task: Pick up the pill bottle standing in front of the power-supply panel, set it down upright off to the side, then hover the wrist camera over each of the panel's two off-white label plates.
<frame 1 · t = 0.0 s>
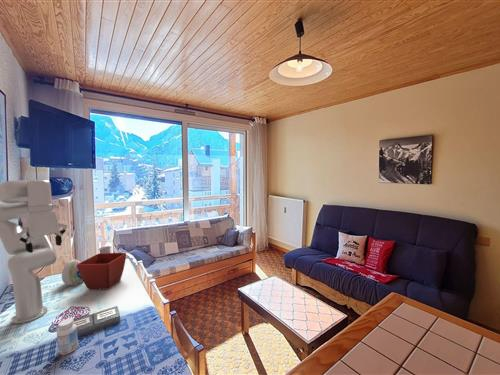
hand: (45, 248, 99), 37 cm above the table, tool pointing down, fingers open, 9 cm apart
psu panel: (93, 325, 104), on the table
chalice: (106, 273, 160), on the table
decorative egg: (74, 283, 147), on the table
pill bottle: (68, 349, 90), on the table
plant pot: (105, 284, 143), on the table
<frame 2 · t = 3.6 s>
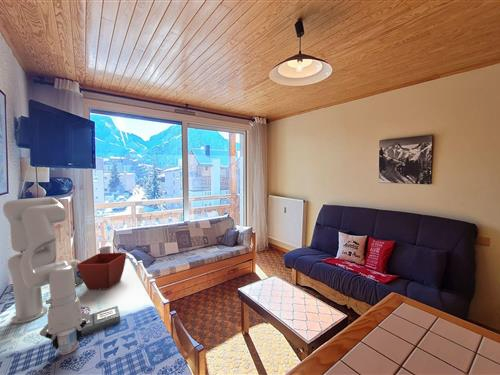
hand: (68, 342, 90), 3 cm above the table, tool pointing down, fingers closed on pill bottle, 6 cm apart
pill bottle: (68, 349, 90), on the table, touching gripper
everything else where it was.
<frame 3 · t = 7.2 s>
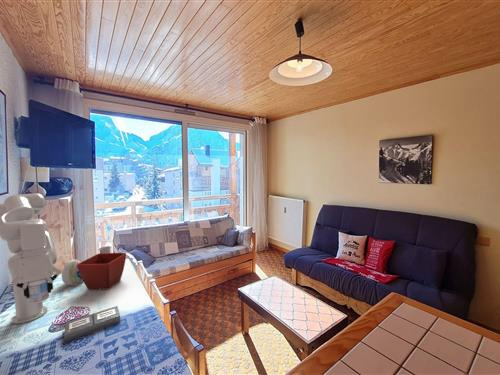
hand: (39, 293, 96), 19 cm above the table, tool pointing down, fingers closed on pill bottle, 6 cm apart
pill bottle: (39, 300, 96), point 16 cm above the table, touching gripper
everything else where it was.
when the fingers open (4 cm above the table, at t = 10.8 s): pill bottle drops 1 cm, on the table.
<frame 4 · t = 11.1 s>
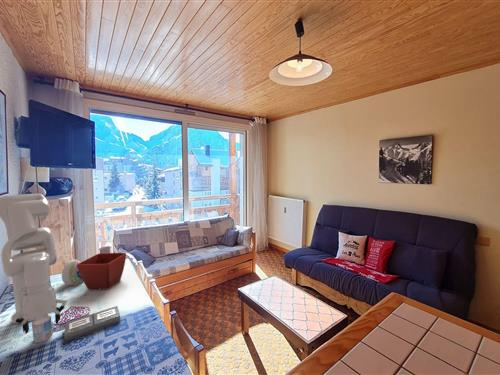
hand: (42, 326, 97), 5 cm above the table, tool pointing down, fingers open, 9 cm apart
pill bottle: (43, 338, 97), on the table
everything else where it was.
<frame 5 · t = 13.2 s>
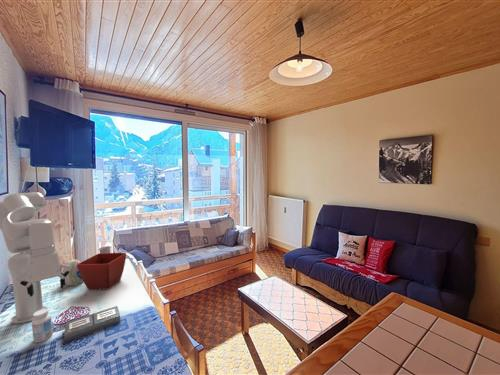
hand: (47, 291, 96), 20 cm above the table, tool pointing down, fingers open, 9 cm apart
nothing on the table moved.
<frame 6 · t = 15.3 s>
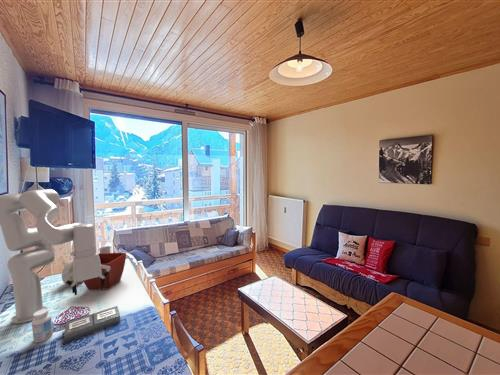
hand: (89, 290, 103), 17 cm above the table, tool pointing down, fingers open, 9 cm apart
nothing on the table moved.
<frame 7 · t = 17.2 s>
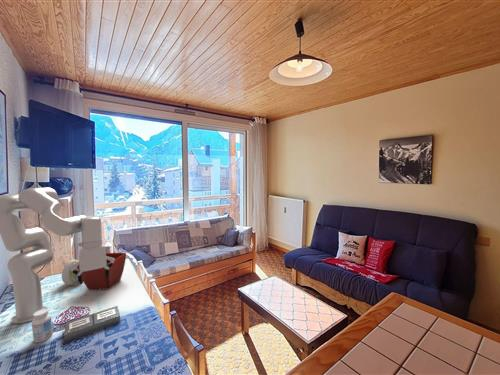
hand: (94, 280, 107), 19 cm above the table, tool pointing down, fingers open, 9 cm apart
nothing on the table moved.
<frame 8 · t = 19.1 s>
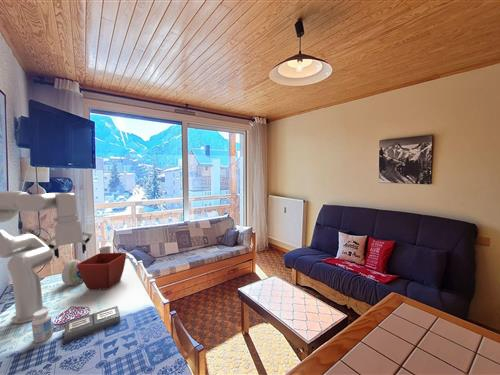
hand: (71, 254, 109), 30 cm above the table, tool pointing down, fingers open, 9 cm apart
nothing on the table moved.
at the end: pill bottle moved 17.8 cm from its start; pill bottle tilted 0°; pill bottle inside the target area (0.2 cm from its centre), on the table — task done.
